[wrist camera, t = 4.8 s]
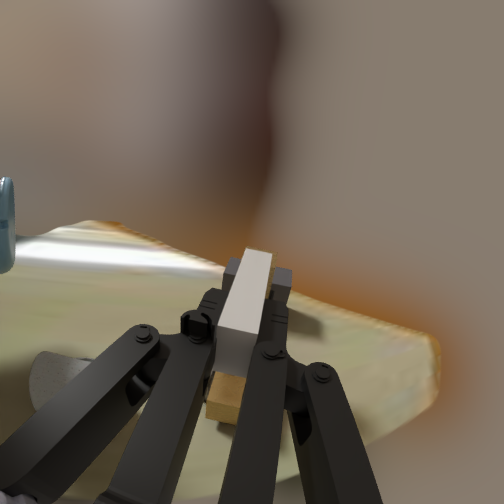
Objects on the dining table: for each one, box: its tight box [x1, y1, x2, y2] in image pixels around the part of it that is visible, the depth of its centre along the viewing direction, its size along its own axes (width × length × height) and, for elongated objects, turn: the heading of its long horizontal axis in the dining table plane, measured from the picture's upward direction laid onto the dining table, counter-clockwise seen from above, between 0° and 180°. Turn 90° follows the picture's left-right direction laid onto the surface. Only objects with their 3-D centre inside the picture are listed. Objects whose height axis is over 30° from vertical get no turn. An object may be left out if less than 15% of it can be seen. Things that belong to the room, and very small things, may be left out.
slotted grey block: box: [222, 257, 292, 304], centre depth 44 cm, size 10×5×7 cm, turn 82°
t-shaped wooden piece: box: [205, 246, 277, 425], centre depth 28 cm, size 4×14×16 cm, turn 172°
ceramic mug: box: [29, 351, 95, 412], centre depth 23 cm, size 11×8×8 cm
